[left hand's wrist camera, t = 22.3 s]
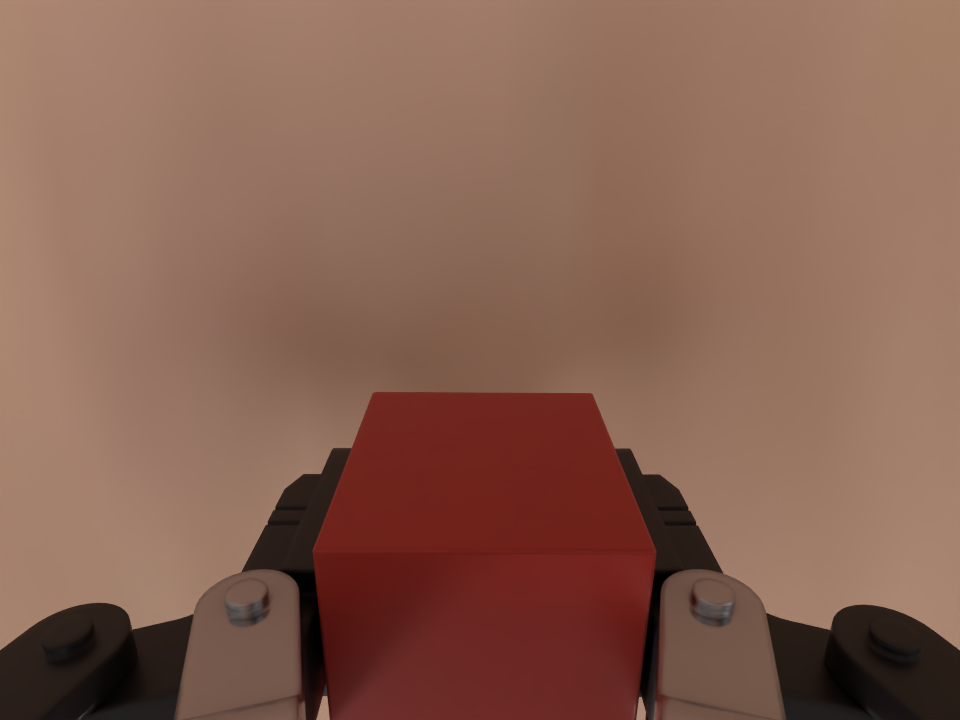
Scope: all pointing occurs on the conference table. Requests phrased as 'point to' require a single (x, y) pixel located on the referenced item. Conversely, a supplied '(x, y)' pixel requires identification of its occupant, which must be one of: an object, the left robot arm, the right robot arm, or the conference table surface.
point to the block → (483, 563)
